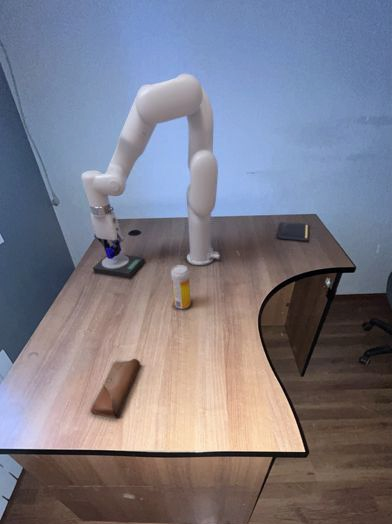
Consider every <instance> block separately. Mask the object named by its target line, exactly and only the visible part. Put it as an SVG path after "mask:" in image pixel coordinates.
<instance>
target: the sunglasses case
mask: <svg viewBox="0 0 392 524" xmlns="http://www.w3.org/2000/svg"><path fill="white" fill-rule="evenodd" d="M140 365H141V362H140V360H138V359H137V358H132V359H130V360H126V361H122V362H115V363H114V364H113V366H112V368H111V369H110V372H109V373H108V375H107V377H106V380H104V383H103V384H102V387H101V388H100V391H99V393H98V394H97V396H96V398H95V400H94V402H93V403H92V406H91V408H90V410H89V411H90V413H91V414H94V415H97V416H102V417H106V418H111V419H117V418H118V417H119V416H120V414H121V411H122V409H123V406H124V403H125V402H126V399H127V397H128V393H129V391H130V390H131V387H132V384H133V381H134V379H135V377H136V375H137V373H138V371H139V368H140Z"/></svg>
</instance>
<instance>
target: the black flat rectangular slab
mask: <svg viewBox="0 0 392 524" xmlns="http://www.w3.org/2000/svg"><path fill="white" fill-rule="evenodd" d="M309 226H310V225H309V224H308V223H307V224H306V223H302V222H291V221H281V222H280V226H279V230H278V235H277V239H278V240H283V241H297V242H305V243H307V242H309Z"/></svg>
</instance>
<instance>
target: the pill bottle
mask: <svg viewBox="0 0 392 524" xmlns="http://www.w3.org/2000/svg"><path fill="white" fill-rule="evenodd" d="M170 278H171V286H172V294H173V295H172V296H173V303H174V306H175V307H176V308H177V309H179V310H186V309H188V308H189V307H190V305H191V287H190V272H189V269H188V267H187V266H186V265H183V264H178V265H174V266H172V268H171V271H170Z"/></svg>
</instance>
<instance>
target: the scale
mask: <svg viewBox="0 0 392 524" xmlns="http://www.w3.org/2000/svg"><path fill="white" fill-rule="evenodd" d="M145 263H146V262H145V258H144V257H142V256H135V255H128V254H122V253H121V254H119V255H117V256H115V257H114V258H113V259H108V257H107V255H106V254H105V256H104V257H103V258H102V259H100V260H99V262H98V263H96V264H95V265H94V266H93V267H92V270H93V273H95V274H99V275H105V276H112V277H117V278H118V277H119V278H122V279H123V278H124V279H132V277H134V275H135V274H136V273H137V272H138V271H139V270H140V268H141V267H143V265H144V264H145Z"/></svg>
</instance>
